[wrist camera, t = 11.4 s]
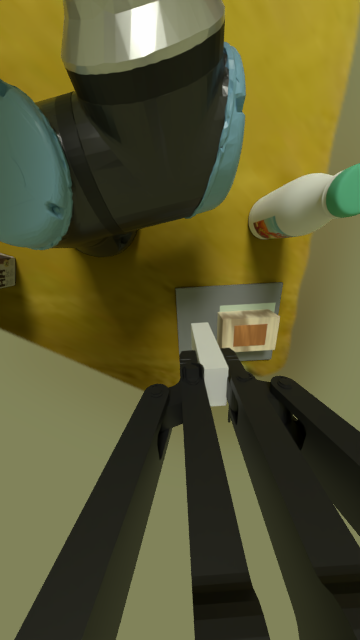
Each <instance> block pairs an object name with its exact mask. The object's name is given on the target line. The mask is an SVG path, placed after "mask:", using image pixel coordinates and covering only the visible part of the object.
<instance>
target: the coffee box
mask: <svg viewBox="0 0 360 640" xmlns="http://www.w3.org/2000/svg"><path fill="white" fill-rule="evenodd" d="M14 285H15V258H14V257H12V256H8V255H5V254H2V253H0V288H5V287H9V286H14Z"/></svg>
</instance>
